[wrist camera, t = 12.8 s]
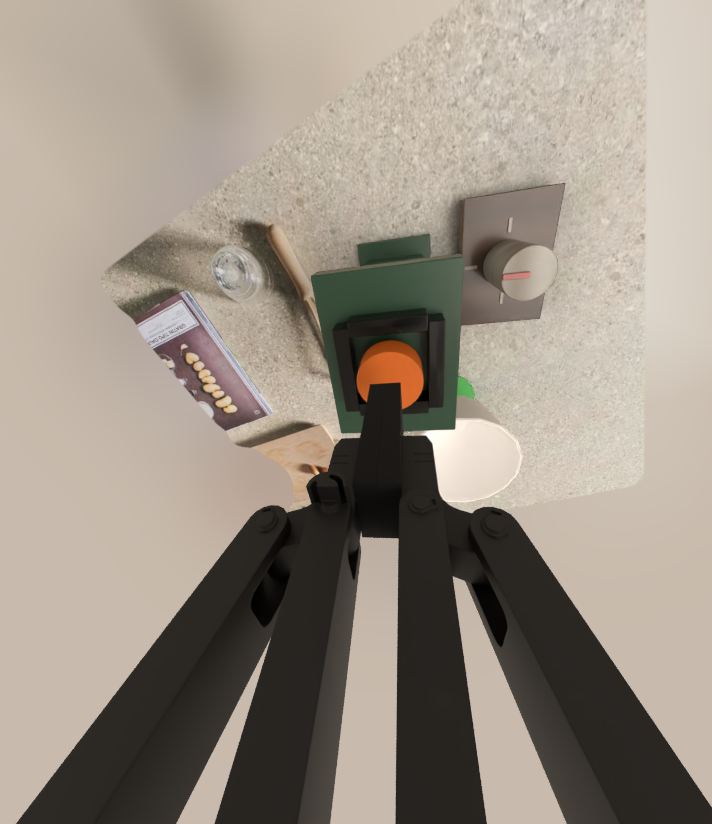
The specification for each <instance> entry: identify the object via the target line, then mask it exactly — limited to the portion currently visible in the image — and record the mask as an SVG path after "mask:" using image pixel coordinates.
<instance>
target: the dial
mask: <svg viewBox="0 0 712 824" xmlns="http://www.w3.org/2000/svg"><path fill="white" fill-rule="evenodd" d="M557 270H558V260H557V257H556V255H555V253H554V252H553V251H552V250H551V249H550V248H548V247H546V246H543V245H539V244H534V243H529V242H524V241H519V240H514V239H509V240H504V241H502V242H499V243H498V244H496V245H495V246H494V247H493V248H492V249H491V250H490V251H489V252H488V254H487V256H486V258H485V260H484V265H483V272H484V276H485V278H486V279H487V281H488V282H490V283H491V284H492V285H493V286H495V287H496V288H497V289H499V290H500V291H501V292H503V293H504V294H505V295H507V296H508V297H509V298H511V299H513V300H516V301H528V300H532V299H534V298H536V297H538V296H540V295H541V294H543V293H544V292H545V291H546V290H547V289H548V288H549V287H550V286H551V284H552V283H553V281H554V279H555V277H556V274H557Z"/></svg>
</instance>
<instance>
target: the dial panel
mask: <svg viewBox="0 0 712 824" xmlns="http://www.w3.org/2000/svg"><path fill="white" fill-rule="evenodd" d="M564 188H565V183H561V184H555V185H549V186H542V187H536V188H530V189H524V190H517V191H511V192H505V193H499V194H493V195H486V196H480V197H474V198H468V199H463V200H460V216H459V240H458V254H461V255H462V256H464V272H463V291H462V311H461V326H462V325H473V324H484V323H495V322H506V321H517V320H528V319H539V318H540V315H541V310H542V305H543V299H544V294H545V292H544V293H543V294H541V295H540V296H538V297H536V298H534V299H532V300H528V301H516V300H513V299H511V298H509V297H508V296H507V295H505V294H504V293H503V292H501V291H500V290H499V289H497V288H496V287H495V286H493V285H492V284H491V283H490V282H488V281H487V279H486V278H485V276H484V272H483V265H484V260H485V258H486V256H487V254H488V252H489V251H490V250H491V249H492V248H493V247H494V246H495V245H496V244H498V243H499V242H502V241H504V240H509V239H514V240H519V241H524V242H529V243H534V244H539V245H543V246H546V247H548V248H550V249H551V250H552V251H553V246H554V241H555V236H556V231H557V225H558V220H559V215H560V209H561V204H562V199H563V193H564Z"/></svg>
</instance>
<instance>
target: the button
mask: <svg viewBox="0 0 712 824" xmlns="http://www.w3.org/2000/svg"><path fill="white" fill-rule="evenodd" d="M398 382H401V396H402V409H404V408H406V407H408V406H410V405H411V404H412V403H414V402H415V401H416V400H417V398H418V397H419V396H420V394H421V392H422V389H423V384H424V379H423V371H422V364H421V360H420V357H419V355H418V354H417V352H416V351H415V350H414V349H413V348H412V347H411V346H409V345H408V344H406V343H403V342H401V341H396V340H386V341H382V342H379V343H376V344H375V345H373V346H372V347H370V348H369V349H368V350H367V351H366V353H365V354H364V356H363V358H362V360H361V364H360V367H359V371H358V375H357V387H358V391H359V393H360V395H361V396H362V398H363V399H364V400H365V401H366V402H367V398H368V392H369V387H370V384H382V383H398Z"/></svg>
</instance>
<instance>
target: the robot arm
mask: <svg viewBox="0 0 712 824" xmlns="http://www.w3.org/2000/svg"><path fill="white" fill-rule="evenodd" d="M306 487H307V491H308V494H309V497H310V500H311V503H312V504H311V505H309V506H307V507H305V508H302V509H299V510H295V511H291V512H288V513H286V511H285V510H284V508H282V507H280V506H272V505H271V506H267V507H263V508H262V509H260V510H258V511H256V512H255V513H254V514H253V515H252V516H251V517H250V519H249V520H248V521H247V522H246V524H245V525H244V526H243V528H242V529H241V530H240V532H239V533H238V534H237V536H236V537H235V538H234V540H233V541H232V542H231V543H230V545H229V546H228V547H227V549H226V550H225V551H224V553H223V554H222V555H221V556H220V558H219V559H218V560H217V562H216V563H215V564H214V566H213V567H212V568H211V570H210V571H209V572H208V574H207V575H206V576H205V577H204V579H203V580H202V581H201V583H200V584H199V585H198V587H197V588H196V589H195V590H194V592H193V593H192V594H191V596H190V597H189V598H188V600H187V601H186V602H185V604H184V605H183V606H182V608H181V609H180V610H179V611H178V613H177V614H176V615H175V617H174V618H173V619H172V621H171V622H170V623H169V624H168V626H167V627H166V628H165V630H164V631H163V632H162V634H161V635H160V636H159V638H158V639H157V640H156V642H155V643H154V644H153V645H152V647H151V648H150V650H149V651H148V652H147V654H146V655H145V656H144V657H143V658H142V660H141V661H140V662H139V664H138V665H137V666H136V668H135V669H134V670H133V672H132V673H131V674H130V675H129V677H128V678H127V679H126V681H125V682H124V684H123V685H122V686H121V687H120V689H119V690H118V691H117V693H116V694H115V695H114V696H113V698H112V699H111V700H110V702H109V703H108V704H107V706H106V707H105V708H104V709H103V711H102V712H101V714H100V715H99V716H98V717H97V719H96V720H95V721H94V723H93V724H92V725H91V726H90V728H89V729H88V730H87V732H86V733H85V734H84V736H83V737H82V738H81V740H80V741H79V742H78V743H77V745H76V746H75V748H74V749H73V750H72V751H71V753H70V754H69V755H68V757H67V758H66V759H65V760H64V762H63V763H62V764H61V766H60V767H59V768H58V770H57V771H56V772H55V774H54V775H53V776H52V777H51V779H50V780H49V781H48V783H47V784H46V785H45V787H44V788H43V789H42V791H41V792H40V793H39V795H38V796H37V797H36V799H35V800H34V801H33V802H32V804H31V805H30V806H29V808H28V809H27V810H26V812H25V813H24V814H23V815H22V817H21V818H20V819H19V821H18V822H17V823H16V824H176V822H177V821H178V819H179V817H180V815H181V813H182V811H183V809H184V807H185V805H186V803H187V801H188V799H189V797H190V795H191V793H192V791H193V789H194V787H195V785H196V783H197V781H198V780H199V778H200V776H201V774H202V772H203V770H204V768H205V766H206V764H207V762H208V760H209V758H210V756H211V754H212V752H213V750H214V748H215V746H216V744H217V742H218V740H219V738H220V736H221V734H222V732H223V730H224V729H225V727H226V725H227V723H228V721H229V719H230V717H231V715H232V713H233V711H234V709H235V707H236V705H237V703H238V701H239V699H240V697H241V695H242V693H243V691H244V689H245V687H246V685H247V683H248V681H249V679H250V677H251V676H252V674H253V671H254V670H255V668H256V666H257V663H258V662H259V660H260V658H261V656H262V654H263V652H264V650H265V648H266V646H267V644H268V642H269V640H270V638H271V640H270V643H269V646H268V650H267V653H266V656H265V660H264V663H263V666H262V669H261V673H260V676H259V679H258V683H257V686H256V689H255V693H254V696H253V699H252V702H251V706H250V709H249V712H248V716H247V719H246V722H245V725H244V729H243V732H242V735H241V739H240V742H239V745H238V748H237V752H236V755H235V759H234V762H233V765H232V769H231V772H230V775H229V778H228V782H227V785H226V788H225V791H224V795H223V798H222V801H221V804H220V808H219V811H218V814H217V818H216V821H215V824H330V819H331V810H332V801H333V793H334V784H335V775H336V766H337V758H338V748H339V740H340V731H341V723H342V714H343V706H344V697H345V688H346V680H347V670H348V662H349V653H350V645H351V635H352V627H353V618H354V610H355V601H356V592H357V583H358V574H359V566H360V558H361V546H360V534H361V532H362V537H373V538H399V555H398V556H399V558H398V563H399V564H398V647H397V648H398V649H397V652H398V653H397V657H398V658H397V740H396V741H397V743H396V747H397V748H396V824H487V822H486V815H485V808H484V800H483V793H482V786H481V779H480V773H479V765H478V757H477V750H476V743H475V736H474V729H473V721H472V714H471V706H470V700H469V692H468V686H467V677H466V670H465V663H464V656H463V649H462V641H461V634H460V627H459V620H458V613H457V605H456V598H455V591H454V583H453V576H454V577H457V578H459V579H462V580H464V581H465V582H466V584H467V586H468V589H469V591H470V594H471V596H472V598H473V601H474V603H475V605H476V608H477V610H478V612H479V615H480V617H481V620H482V622H483V625H484V627H485V629H486V632H487V634H488V637H489V639H490V641H491V644H492V646H493V648H494V651H495V653H496V656H497V658H498V660H499V663H500V665H501V667H502V670H503V672H504V675H505V677H506V680H507V682H508V684H509V687H510V689H511V691H512V694H513V696H514V699H515V701H516V703H517V706H518V708H519V711H520V713H521V715H522V718H523V720H524V722H525V725H526V727H527V730H528V732H529V734H530V737H531V739H532V742H533V744H534V746H535V749H536V751H537V753H538V756H539V758H540V761H541V763H542V765H543V768H544V770H545V773H546V775H547V777H548V780H549V782H550V785H551V787H552V789H553V792H554V794H555V797H556V799H557V801H558V804H559V806H560V808H561V811H562V813H563V816H564V818H565V820H566V823H567V824H712V807H711V806H710V804H709V803H708V801H707V800H706V798H705V797H704V795H703V794H702V792H701V791H700V790H699V788H698V787H697V785H696V784H695V782H694V781H693V779H692V778H691V777H690V775H689V773H688V772H687V770H686V769H685V768H684V766H683V765H682V763H681V762H680V760H679V759H678V757H677V756H676V754H675V753H674V751H673V750H672V748H671V747H670V745H669V744H668V742H667V741H666V739H665V738H664V737H663V735H662V734H661V732H660V731H659V729H658V728H657V726H656V725H655V723H654V722H653V720H652V719H651V718H650V716H649V715H648V713H647V712H646V710H645V709H644V707H643V706H642V704H641V703H640V701H639V700H638V698H637V697H636V695H635V694H634V692H633V691H632V689H631V688H630V686H629V685H628V684H627V682H626V681H625V679H624V678H623V676H622V675H621V673H620V672H619V670H618V669H617V667H616V666H615V665H614V663H613V661H612V660H611V659H610V657H609V656H608V654H607V653H606V651H605V650H604V648H603V647H602V645H601V644H600V642H599V641H598V639H597V638H596V637H595V635H594V634H593V632H592V631H591V629H590V628H589V626H588V625H587V623H586V622H585V620H584V619H583V617H582V616H581V614H580V613H579V611H578V610H577V609H576V607H575V606H574V604H573V603H572V601H571V600H570V598H569V597H568V595H567V594H566V592H565V591H564V590H563V588H562V586H561V585H560V583H559V582H558V581H557V579H556V578H555V576H554V575H553V573H552V572H551V570H550V569H549V567H548V566H547V564H546V563H545V561H544V560H543V559H542V557H541V555H540V554H539V553H538V551H537V550H536V548H535V547H534V545H533V544H532V542H531V541H530V539H529V538H528V536H527V535H526V533H525V532H524V531H523V529H522V528H521V526H520V525H519V523H518V522H517V521H516V520H515V518H514V517H513V516H512V515H511V514H509V513H507V512H505V511H504V510H502V509H498V508H494V507H482V508H480V509H477V510H475V511H474V512H473V513H468V512H465V511H461V510H458V509H456V508H453V507H452V506H450V505H448V504H447V503H446V502H445V501H444V500H443V499H442V497H441V496H440V493H439V488H438V481H437V473H436V466H435V459H434V451H433V444H432V442H431V441H430V440H429V438H428V437H427V436H426V435H421V436H403V413H402V396H401V382H398V383H382V384H370V387H369V392H368V398H367V403H366V409H365V414H364V420H363V425H362V431H361V436H360V438H345V439H341V440H340V441H339V442H338V443H337V444H336V446H335V447H334V451H333V454H332V458H331V461H330V465H329V468H328V472H323V473H320V474H318V475H316V476H314V477H313V478H312V479H311V480H310V481H309V482H308V484H307V486H306Z"/></svg>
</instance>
